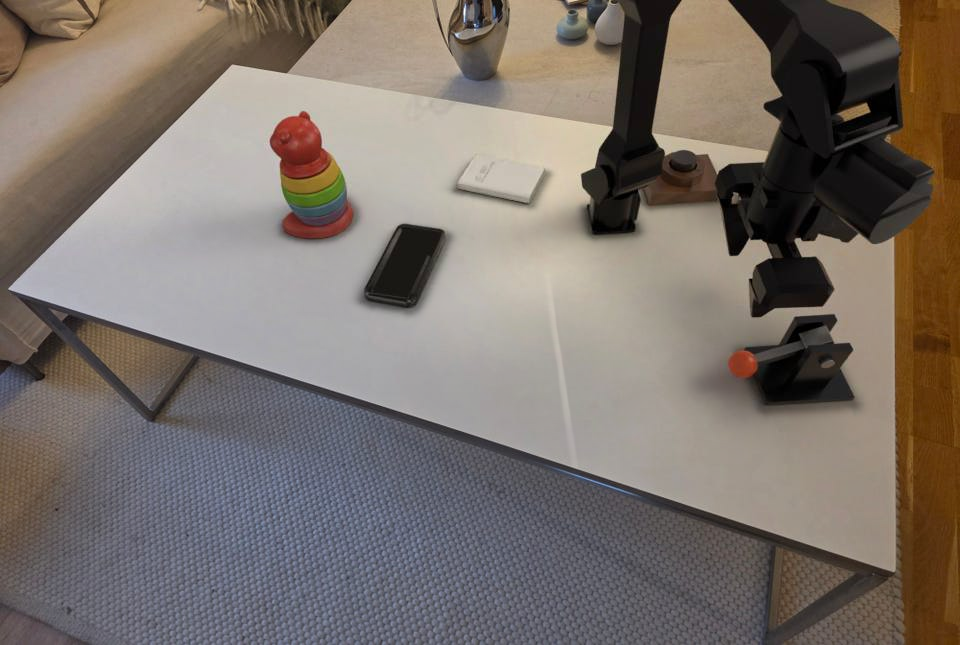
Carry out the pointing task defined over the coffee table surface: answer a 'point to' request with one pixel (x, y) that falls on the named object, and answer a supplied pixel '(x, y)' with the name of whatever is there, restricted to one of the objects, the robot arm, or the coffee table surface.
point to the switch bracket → (805, 368)
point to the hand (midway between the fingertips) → (744, 284)
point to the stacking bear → (310, 180)
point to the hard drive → (502, 178)
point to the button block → (684, 183)
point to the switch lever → (776, 352)
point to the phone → (405, 265)
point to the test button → (683, 161)
